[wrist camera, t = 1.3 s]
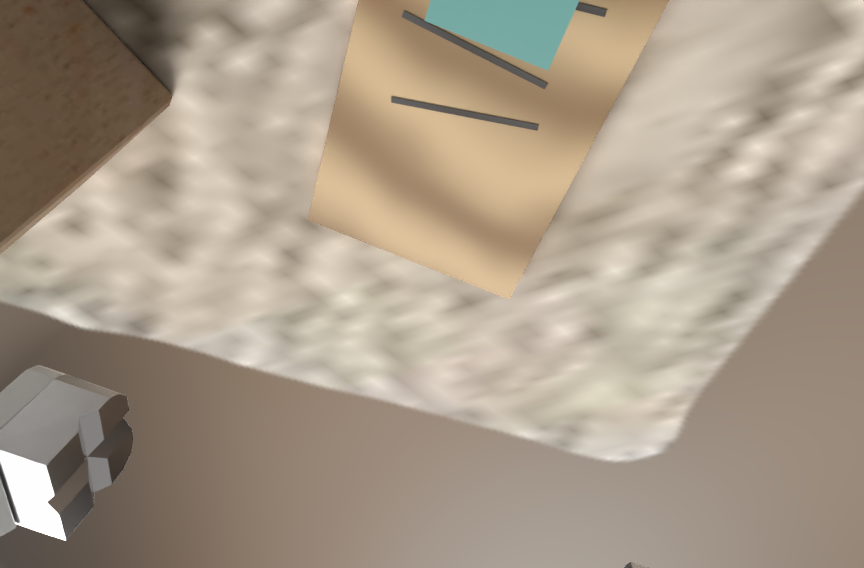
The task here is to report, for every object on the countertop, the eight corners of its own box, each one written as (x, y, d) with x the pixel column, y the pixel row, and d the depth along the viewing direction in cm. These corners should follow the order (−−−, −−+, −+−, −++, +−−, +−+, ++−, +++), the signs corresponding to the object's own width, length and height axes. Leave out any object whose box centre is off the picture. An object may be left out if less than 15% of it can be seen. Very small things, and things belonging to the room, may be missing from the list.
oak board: (455, -370, 24) (445, -373, 22) (783, -231, 24) (791, -228, 23) (317, 205, 40) (307, 220, 39) (512, 282, 40) (509, 300, 39)
